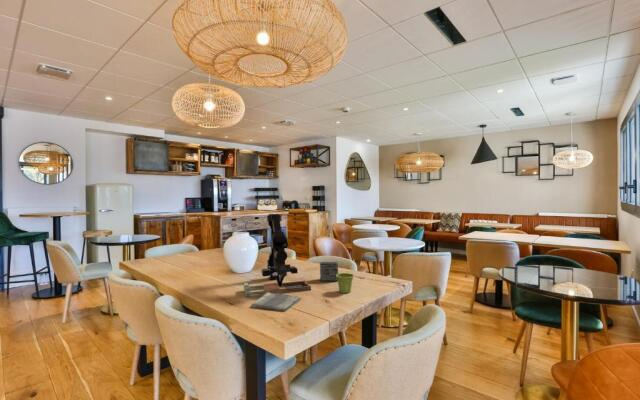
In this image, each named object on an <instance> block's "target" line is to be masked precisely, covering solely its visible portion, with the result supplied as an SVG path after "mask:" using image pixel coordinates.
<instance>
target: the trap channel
mask: <svg viewBox="0 0 640 400" xmlns="http://www.w3.org/2000/svg"><path fill="white" fill-rule="evenodd" d="M258 290H259V291H258ZM305 291H306V292H307V291H312V286H311V285H310V284H309V283H308V282H307V281H306V280H300V281H288V282H282V285H281V287H280V288H279V289H277V290H267V291H264V288H263V284H259V285H249V283H248V282H244V283H243V292H244V295H245V298H252V297H254V298H255V297H259V296H260V297H262V296H263V295H265V294H266V293H267V292H269V293H273V294H276V293H279V294H286V293H296V292H305Z"/></svg>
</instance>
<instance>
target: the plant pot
mask: <svg viewBox="0 0 640 400" xmlns="http://www.w3.org/2000/svg"><path fill="white" fill-rule="evenodd" d="M336 276H337V279H338V282H337V284H338V292H340V293H341V294H347V293H348V294H349V293H351V292H352V286H353V279H354V277H355V275H354V274H353V273H350V272H338V274H337V275H336Z"/></svg>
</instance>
